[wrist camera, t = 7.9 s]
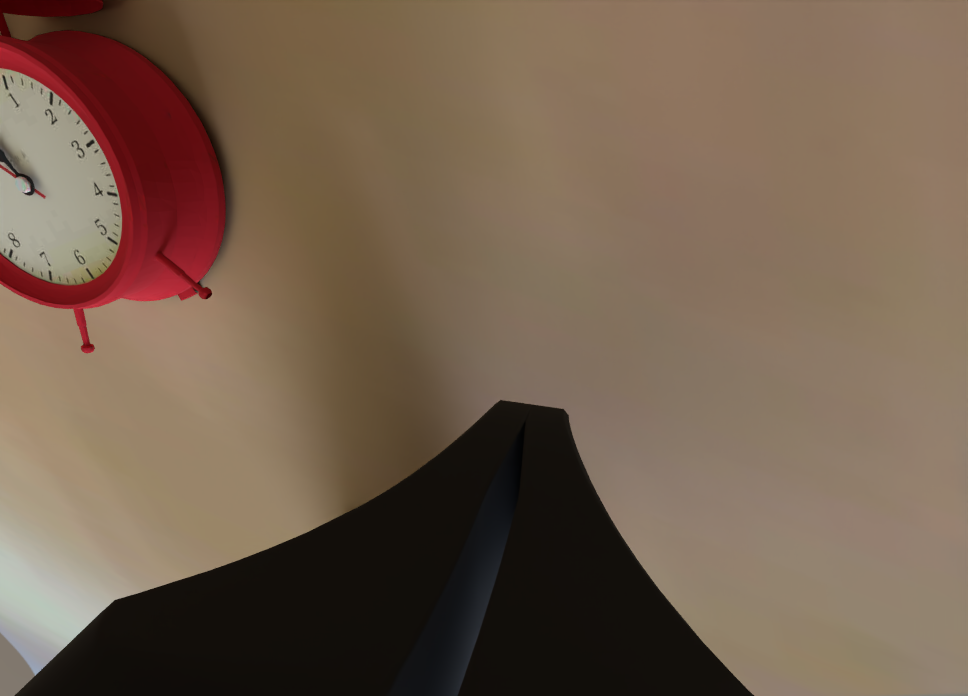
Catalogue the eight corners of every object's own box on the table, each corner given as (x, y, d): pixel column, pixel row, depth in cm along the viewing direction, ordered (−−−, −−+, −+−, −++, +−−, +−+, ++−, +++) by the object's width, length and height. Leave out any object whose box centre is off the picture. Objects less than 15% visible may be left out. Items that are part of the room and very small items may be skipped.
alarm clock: (58, 379, 21) (-389, -8, 14) (153, 305, 26) (-140, -7, 19) (234, 296, 18) (-240, -270, 11) (304, 230, 23) (16, -184, 16)
